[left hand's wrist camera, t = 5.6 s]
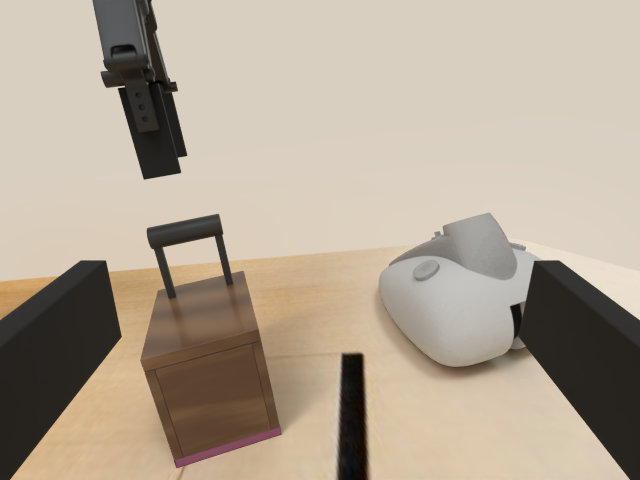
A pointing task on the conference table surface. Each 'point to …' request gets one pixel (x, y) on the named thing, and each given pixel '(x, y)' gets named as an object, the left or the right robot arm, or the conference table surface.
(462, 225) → the projector
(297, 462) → the conference table surface
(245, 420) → the chest
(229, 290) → the lid
